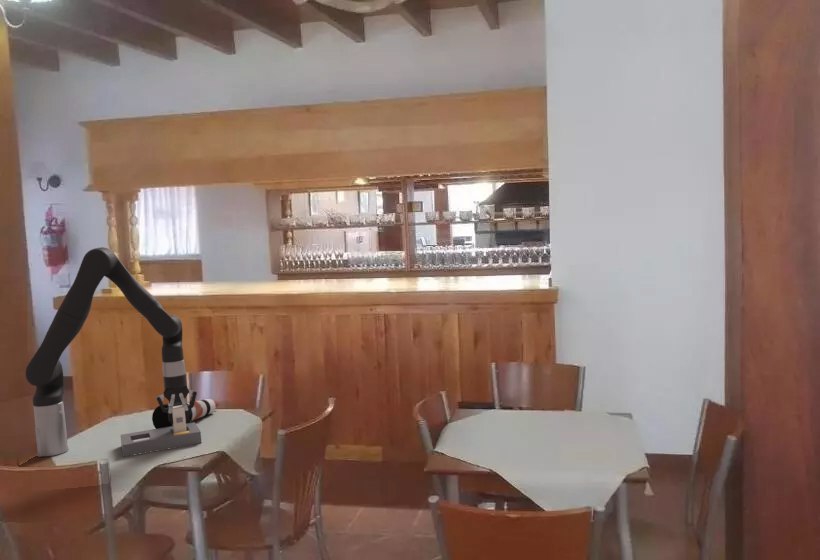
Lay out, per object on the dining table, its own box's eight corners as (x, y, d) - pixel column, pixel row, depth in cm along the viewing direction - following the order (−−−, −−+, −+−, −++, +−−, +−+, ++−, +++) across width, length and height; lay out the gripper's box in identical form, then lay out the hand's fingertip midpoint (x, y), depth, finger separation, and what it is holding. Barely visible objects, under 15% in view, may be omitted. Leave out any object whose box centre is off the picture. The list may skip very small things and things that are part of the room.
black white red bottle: (221, 421, 296) (231, 398, 295) (169, 438, 263) (180, 413, 262) (201, 409, 299) (211, 387, 297) (148, 424, 266) (158, 399, 265)
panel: (123, 457, 242) (122, 444, 241) (121, 446, 254) (120, 434, 254) (201, 443, 252) (200, 431, 251) (195, 433, 264) (194, 421, 264)
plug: (175, 441, 252) (172, 409, 251) (174, 437, 256) (171, 406, 255) (187, 439, 254) (184, 407, 253) (185, 435, 258) (182, 405, 257)
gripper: (153, 378, 247) (158, 428, 249) (197, 372, 253) (201, 421, 254) (151, 374, 254) (156, 423, 256) (194, 368, 260) (198, 416, 261)
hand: (179, 421), depth 255 cm, fingers closed on plug, 4 cm apart
